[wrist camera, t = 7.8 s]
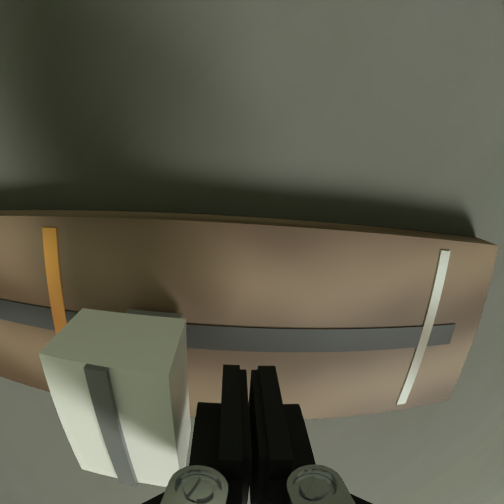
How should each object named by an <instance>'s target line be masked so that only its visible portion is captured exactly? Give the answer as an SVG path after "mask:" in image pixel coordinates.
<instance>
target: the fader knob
mask: <svg viewBox="0 0 504 504" xmlns="http://www.w3.org/2000/svg"><path fill="white" fill-rule="evenodd" d="M39 356H40V360H41V363H42V367H43V370H44V374H45V377H46V380H47V383H48V387H49V390H50V393H51V396H52V398H53V401H54V404H55V407H56V410H57V412H58V415H59V418H60V420H61V423H62V425H63V428H64V430H65V433H66V435H67V438H68V440H69V442H70V444H71V447H72V449H73V451H74V453H75V456H76V458H77V460H78V462H79V464H80V466H81V468H82V469H84V470H87V471H91V472H95V473H98V474H102V475H107V476H111V477H115V478H118V479H119V482H120V483H122V484H127V485H132V486H137V485H138V482H140V483H146V484H152V485H158V486H165V487H167V485H168V482H169V480H170V478H171V477H172V475H173V474H174V473H175V472H177V471H178V470H179V469H182V468H184V467H185V466H186V459H187V452H188V445H189V438H190V431H191V425H190V410H189V392H188V370H187V339H186V319H183V314H179V313H166V312H155V311H144V310H134V309H127V311H126V312H125V313H119V312H110V311H101V310H93V309H85V308H82V309H81V310H80V311H79V312H78V313H77V314H76V315H75V316H74V317H73V318H72V319H71V320H70V321H69V322H68V323H67V324H66V325H65V326H64V327H63V328H62V329H61V330H60V331H59V333H58V334H57V335H56V336H55V337H54V338H53V339H52V340H51V341H50V342H49V343H48V344H47V345H46V346H45V347H44V348H43V349H42V350H41V351H40V353H39Z"/></svg>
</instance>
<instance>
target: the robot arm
mask: <svg viewBox="0 0 504 504" xmlns="http://www.w3.org/2000/svg"><path fill="white" fill-rule="evenodd" d="M249 486H250V502H251V504H372V503H370V502H367V501H365V500H363V499H361V498H359V497H356V496H354V495H352V494H350V493H349V491H348V489H347V487H346V485H345V484H344V482H343V480H342V478H341V477H340V476H339V474H338V473H337V472H335V471H334V470H333V469H331V468H329V467H326V466H323V465H316V464H315V460H314V456H313V453H312V449H311V445H310V441H309V438H308V434H307V430H306V426H305V422H304V419H303V415H302V411H301V408H300V405H299V404H283V401H282V396H281V391H280V386H279V382H278V377H277V372H276V367H275V366H259V365H258V368H257V370H251V379H250V392H249V403H248V387H247V371H246V370H245V369H240V365H227V364H223V376H222V397H221V403H208V402H198V403H197V409H196V417H195V424H194V432H193V439H192V447H191V455H190V463H189V466H187V467H184V468H182V469H179V470H178V471H177V472H175V473H174V474H173V475H172V477H171V478H170V480H169V482H168V485H167V488H166V490H165V492H163V493H162V494H160V495H158V496H156V497H154V498H152V499H150V500H148V501H146V502H144V503H142V504H247V501H248V492H249Z"/></svg>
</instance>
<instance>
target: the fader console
mask: <svg viewBox="0 0 504 504" xmlns="http://www.w3.org/2000/svg"><path fill="white" fill-rule="evenodd" d="M497 249H498V245H495V244H493V243H490V242H487V241H485V240H482V239H479V238H476V237H468V236H460V235H451V234H443V233H434V232H425V231H415V230H406V229H396V228H386V227H375V226H364V225H353V224H342V223H329V222H317V221H304V220H290V219H276V218H260V217H244V216H227V215H208V214H187V213H163V212H134V211H94V210H0V376H1V377H4V378H7V379H10V380H13V381H16V382H19V383H22V384H25V385H28V386H31V387H35V388H38V389H42V390H45V391H49V392H50V390H49V387H48V383H47V380H46V377H45V374H44V370H43V367H42V363H41V360H40V356H39V353H40V351H41V350H42V349H43V348H44V347H45V346H46V345H47V344H48V343H49V342H50V341H51V340H52V339H53V338H54V337H55V336H56V335H57V334H58V333H59V331H60V330H61V329H62V328H63V327H64V326H65V325H66V324H67V323H68V322H69V321H70V320H71V319H72V318H73V317H74V316H75V315H76V314H77V313H78V312H79V311H80V310H81V309H82V308H85V309H93V310H101V311H110V312H119V313H125V312H126V311H127V309H134V310H144V311H155V312H166V313H179V314H183V319H186V339H187V370H188V392H189V410H190V417H196V409H197V403H198V402H208V403H221V397H222V376H223V364H227V365H240V369H245V370H246V371H247V387H248V403H249V392H250V379H251V370H257V368H258V365H259V366H275V367H276V372H277V377H278V382H279V386H280V391H281V396H282V401H283V404H299V405H300V408H301V411H302V415H303V419H318V418H333V417H345V416H355V415H364V414H372V413H380V412H387V411H393V410H400V409H406V408H411V407H417V406H422V405H427V404H432V403H437V402H442V401H446V400H449V398H450V396H451V394H452V391H453V389H454V387H455V385H456V382H457V380H458V378H459V375H460V373H461V370H462V368H463V366H464V363H465V360H466V358H467V355H468V353H469V350H470V347H471V344H472V342H473V339H474V336H475V333H476V330H477V327H478V324H479V321H480V317H481V314H482V311H483V307H484V304H485V300H486V297H487V293H488V289H489V285H490V281H491V277H492V273H493V268H494V264H495V259H496V254H497Z"/></svg>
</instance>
